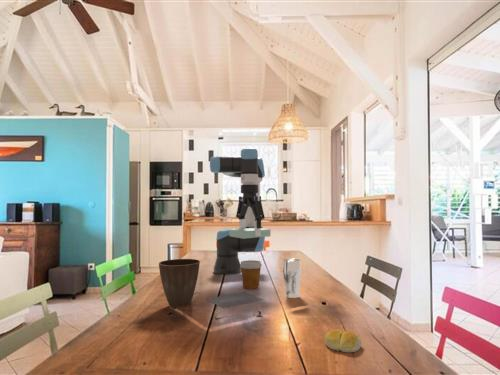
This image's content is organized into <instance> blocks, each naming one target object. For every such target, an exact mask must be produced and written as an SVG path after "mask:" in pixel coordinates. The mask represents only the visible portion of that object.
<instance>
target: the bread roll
mask: <svg viewBox="0 0 500 375" xmlns="http://www.w3.org/2000/svg"><path fill="white" fill-rule="evenodd" d="M324 341H325V344H326V346H327V347H328V348H329V349H331V350H333V351H338V352H339V351H341V352H342V353H355V352H357V351H359V350H360V348H361V345H362V339H361V338H360V336H359V335H357V334H356V332H355V333H354V332H353V331H351V330H347V331H342V330H341V329H331V330H329V331H328V332H327V333H326V334H325V337H324Z"/></svg>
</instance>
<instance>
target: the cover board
mask: <svg viewBox="0 0 500 375" xmlns="http://www.w3.org/2000/svg"><path fill="white" fill-rule="evenodd" d="M228 229H229V236H231V237H236V238H242V239H245V238H256V237H265V238H266V237H268V238H269V237H271V229H270V228H264V227H263V228H261V236H256V237H255V229H254V228H242V229H239V228H238V229H231V228H228Z"/></svg>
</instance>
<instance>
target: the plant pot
mask: <svg viewBox="0 0 500 375" xmlns="http://www.w3.org/2000/svg"><path fill="white" fill-rule="evenodd" d="M200 263H201V261H200V260H199V259H194V258H193V259H192V258H175V259H167V260H162V261H159V262H158V270H159V276H160V280H161V284H162V288H163V291H164V295H165V298H166V301H167V303H168V305H169V308H171V307H172V308H171V309H176V308H178V307H185V306H188V305H190V304H192V301H193V297H194V295H195V294H194V293H195V292H196V286H197V282H198V278H199V271H200Z"/></svg>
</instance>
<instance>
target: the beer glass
mask: <svg viewBox="0 0 500 375" xmlns="http://www.w3.org/2000/svg"><path fill="white" fill-rule="evenodd" d="M282 269H283V270H282V272H283V279H284V286H285V294H284V296H285V297H286V298H290V299H296V298H301V295H300V283H301V277H302V264H301V259H300V258H290V257H289V258H284V259H283V268H282Z"/></svg>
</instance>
